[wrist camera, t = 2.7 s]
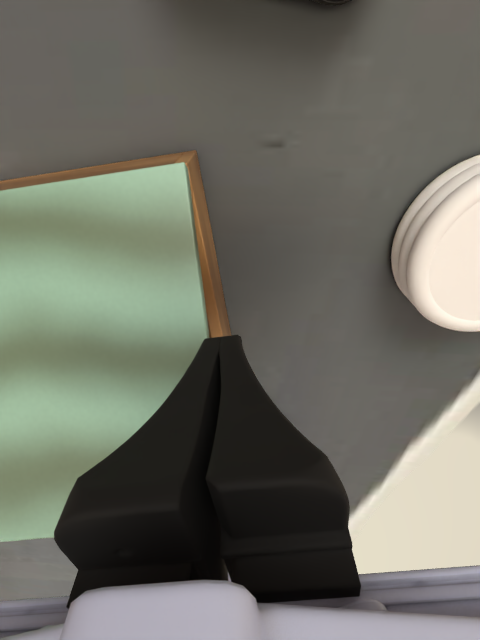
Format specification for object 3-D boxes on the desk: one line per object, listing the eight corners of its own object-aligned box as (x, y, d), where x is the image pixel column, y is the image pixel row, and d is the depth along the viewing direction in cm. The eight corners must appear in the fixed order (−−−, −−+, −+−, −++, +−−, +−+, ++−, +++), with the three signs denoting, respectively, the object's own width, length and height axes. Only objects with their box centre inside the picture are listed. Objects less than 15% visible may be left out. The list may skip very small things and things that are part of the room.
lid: (232, 512, 15) (230, 522, 14) (-33, 536, 16) (-46, 547, 15) (188, 168, 15) (184, 160, 14) (-79, 209, 16) (-95, 204, 15)
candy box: (235, 356, 26) (235, 397, 23) (79, 374, 27) (56, 417, 23) (196, 149, 18) (187, 162, 15) (-22, 184, 19) (-80, 204, 16)
